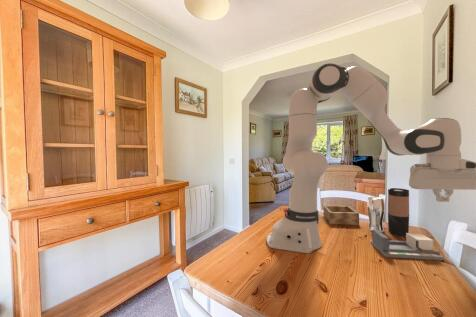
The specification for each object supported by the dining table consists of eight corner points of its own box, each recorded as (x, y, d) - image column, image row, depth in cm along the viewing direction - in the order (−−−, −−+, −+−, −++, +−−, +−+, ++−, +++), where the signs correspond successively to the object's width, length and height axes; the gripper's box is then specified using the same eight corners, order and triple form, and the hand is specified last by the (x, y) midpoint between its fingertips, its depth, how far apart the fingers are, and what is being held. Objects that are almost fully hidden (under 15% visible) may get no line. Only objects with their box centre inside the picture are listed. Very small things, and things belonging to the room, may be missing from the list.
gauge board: (385, 257, 72) (385, 250, 72) (370, 243, 83) (370, 237, 83) (443, 260, 69) (443, 254, 69) (420, 245, 80) (420, 240, 80)
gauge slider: (421, 254, 71) (421, 242, 70) (405, 244, 79) (405, 232, 79) (438, 255, 70) (438, 243, 69) (420, 244, 78) (420, 233, 78)
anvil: (383, 251, 74) (383, 238, 74) (372, 241, 82) (372, 229, 81) (389, 251, 73) (389, 238, 73) (377, 242, 81) (377, 229, 81)
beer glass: (385, 233, 92) (385, 201, 92) (367, 230, 96) (367, 199, 95) (384, 228, 98) (384, 197, 98) (366, 226, 102) (366, 196, 101)
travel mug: (413, 236, 88) (413, 191, 88) (393, 235, 90) (393, 191, 89) (402, 230, 96) (402, 188, 95) (384, 229, 97) (384, 188, 97)
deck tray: (330, 223, 106) (330, 212, 106) (323, 215, 120) (323, 205, 120) (359, 224, 104) (359, 213, 103) (348, 216, 117) (348, 205, 117)
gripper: (416, 164, 72) (416, 203, 72) (485, 163, 68) (484, 204, 69) (405, 163, 78) (404, 199, 78) (467, 162, 75) (466, 199, 75)
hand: (442, 201), depth 74 cm, fingers closed
